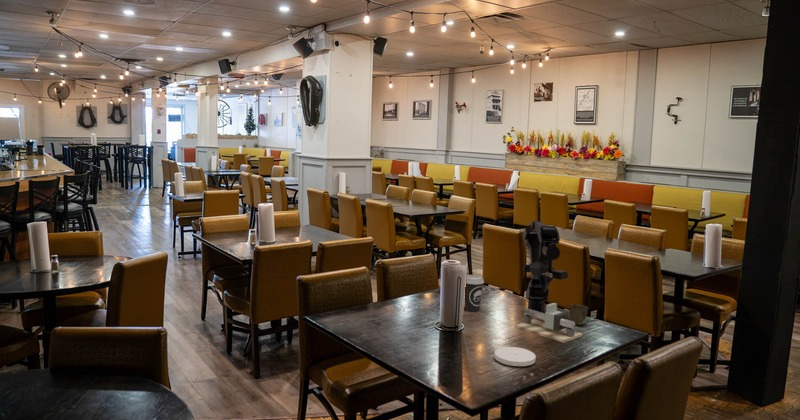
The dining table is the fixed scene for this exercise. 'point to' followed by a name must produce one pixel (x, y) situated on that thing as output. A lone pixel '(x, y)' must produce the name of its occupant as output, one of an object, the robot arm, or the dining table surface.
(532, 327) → the base board
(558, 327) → the rubber collar
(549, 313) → the sleeve
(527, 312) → the steel pipe
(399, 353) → the dining table surface
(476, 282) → the coffee cup
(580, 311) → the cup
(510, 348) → the plastic lid
